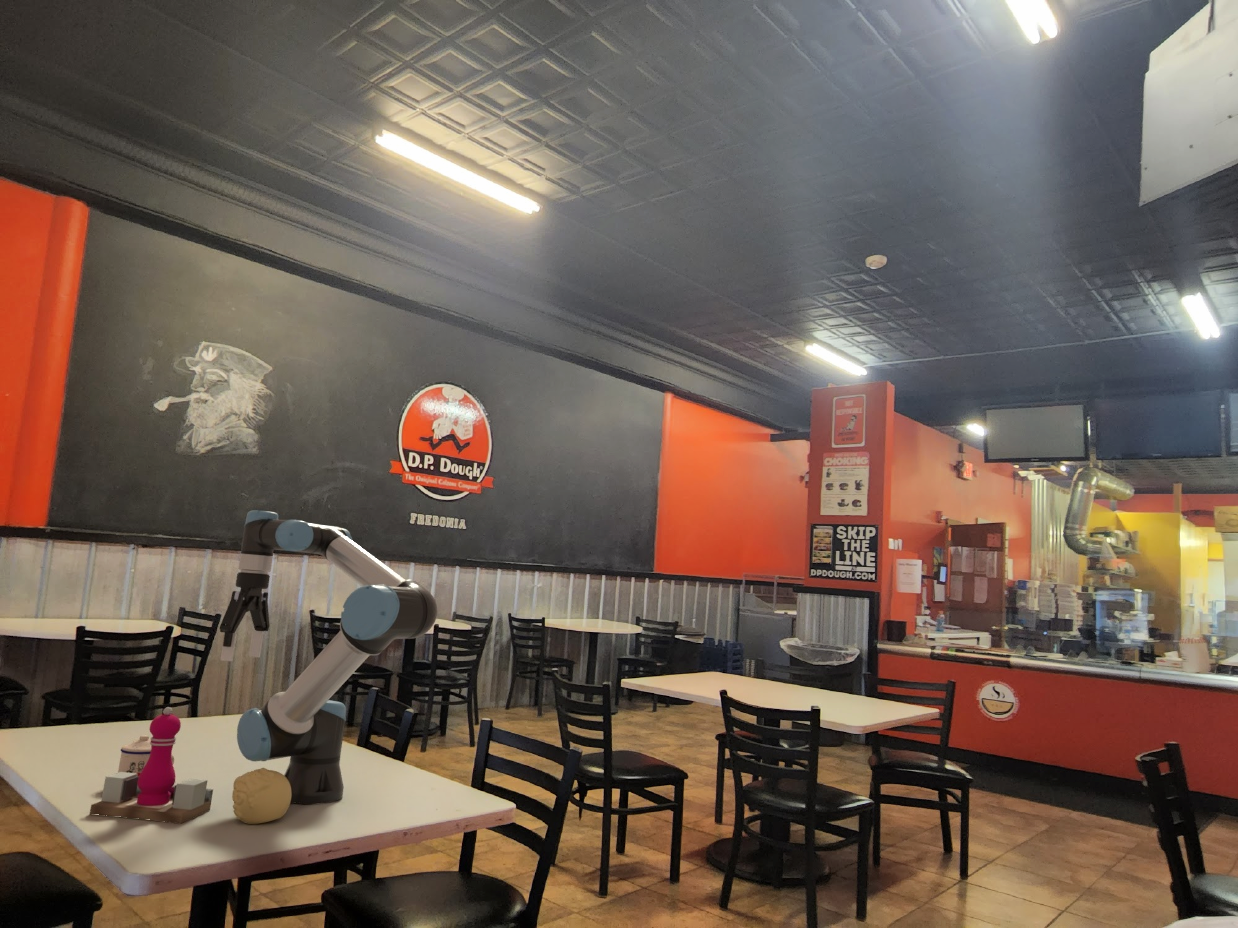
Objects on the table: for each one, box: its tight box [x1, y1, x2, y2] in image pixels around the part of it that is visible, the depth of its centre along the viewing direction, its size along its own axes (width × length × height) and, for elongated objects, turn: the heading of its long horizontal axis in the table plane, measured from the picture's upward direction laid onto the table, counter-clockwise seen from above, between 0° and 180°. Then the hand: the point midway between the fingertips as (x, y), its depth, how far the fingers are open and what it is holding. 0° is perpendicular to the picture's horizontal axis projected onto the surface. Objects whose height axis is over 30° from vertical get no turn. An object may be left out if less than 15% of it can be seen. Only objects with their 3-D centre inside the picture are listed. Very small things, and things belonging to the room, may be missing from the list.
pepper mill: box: [137, 706, 182, 806], centre depth 176 cm, size 7×7×20 cm
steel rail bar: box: [136, 785, 214, 802], centre depth 180 cm, size 20×1×2 cm, turn 87°
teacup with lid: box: [117, 734, 175, 779], centre depth 196 cm, size 12×9×12 cm
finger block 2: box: [172, 778, 208, 810], centre depth 174 cm, size 5×5×5 cm
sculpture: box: [231, 767, 292, 825], centre depth 176 cm, size 12×12×11 cm
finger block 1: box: [101, 772, 139, 803], centre depth 175 cm, size 5×5×5 cm
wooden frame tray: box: [89, 795, 212, 824], centre depth 174 cm, size 20×11×2 cm, turn 87°
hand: (240, 658), depth 198 cm, fingers open, 13 cm apart
